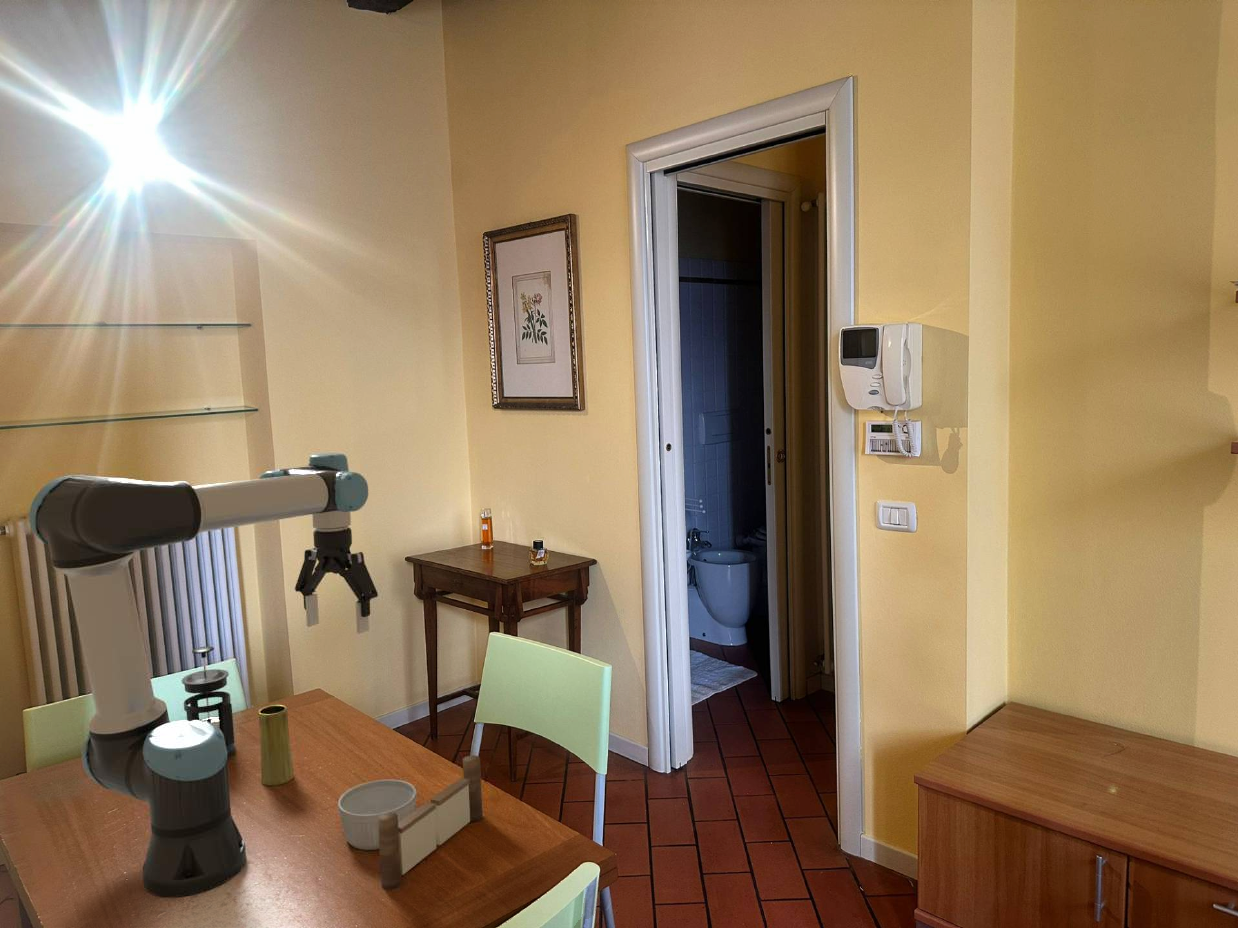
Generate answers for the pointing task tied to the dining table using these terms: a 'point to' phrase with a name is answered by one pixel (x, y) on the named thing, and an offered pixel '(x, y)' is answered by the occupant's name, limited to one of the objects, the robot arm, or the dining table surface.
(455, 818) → the right leaf
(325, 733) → the dining table surface
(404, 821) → the left leaf
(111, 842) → the dining table surface
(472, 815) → the gate posts
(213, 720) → the french press
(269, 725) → the vase
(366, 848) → the ramekin
